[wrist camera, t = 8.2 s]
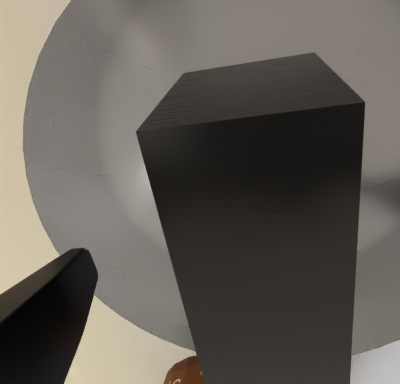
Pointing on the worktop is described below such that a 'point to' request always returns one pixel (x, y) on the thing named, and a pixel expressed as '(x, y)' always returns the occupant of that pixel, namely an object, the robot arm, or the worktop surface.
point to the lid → (229, 174)
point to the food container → (185, 372)
